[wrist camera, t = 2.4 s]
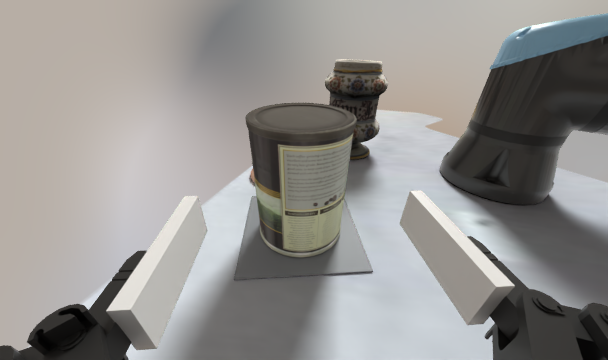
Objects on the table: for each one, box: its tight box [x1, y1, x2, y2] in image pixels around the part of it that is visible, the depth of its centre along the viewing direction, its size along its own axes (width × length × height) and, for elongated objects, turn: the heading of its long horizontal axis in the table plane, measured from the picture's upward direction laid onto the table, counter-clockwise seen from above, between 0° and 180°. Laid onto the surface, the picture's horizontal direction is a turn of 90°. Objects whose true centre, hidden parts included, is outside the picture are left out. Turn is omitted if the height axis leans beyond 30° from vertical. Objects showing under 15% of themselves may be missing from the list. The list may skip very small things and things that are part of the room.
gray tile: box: [234, 196, 373, 280], centre depth 28 cm, size 14×14×1 cm
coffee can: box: [246, 103, 357, 257], centre depth 24 cm, size 10×10×14 cm
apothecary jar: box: [325, 59, 388, 160], centre depth 45 cm, size 12×12×18 cm
